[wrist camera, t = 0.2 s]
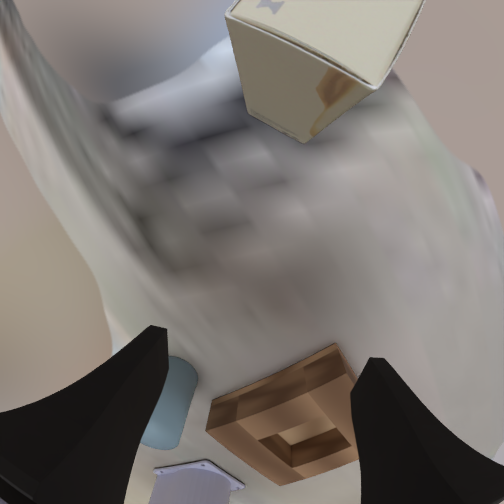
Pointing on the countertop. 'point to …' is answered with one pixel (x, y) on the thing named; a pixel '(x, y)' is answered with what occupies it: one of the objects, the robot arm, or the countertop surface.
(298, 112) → the skincare box
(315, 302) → the countertop surface
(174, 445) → the peg
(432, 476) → the robot arm
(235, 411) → the walnut holder
